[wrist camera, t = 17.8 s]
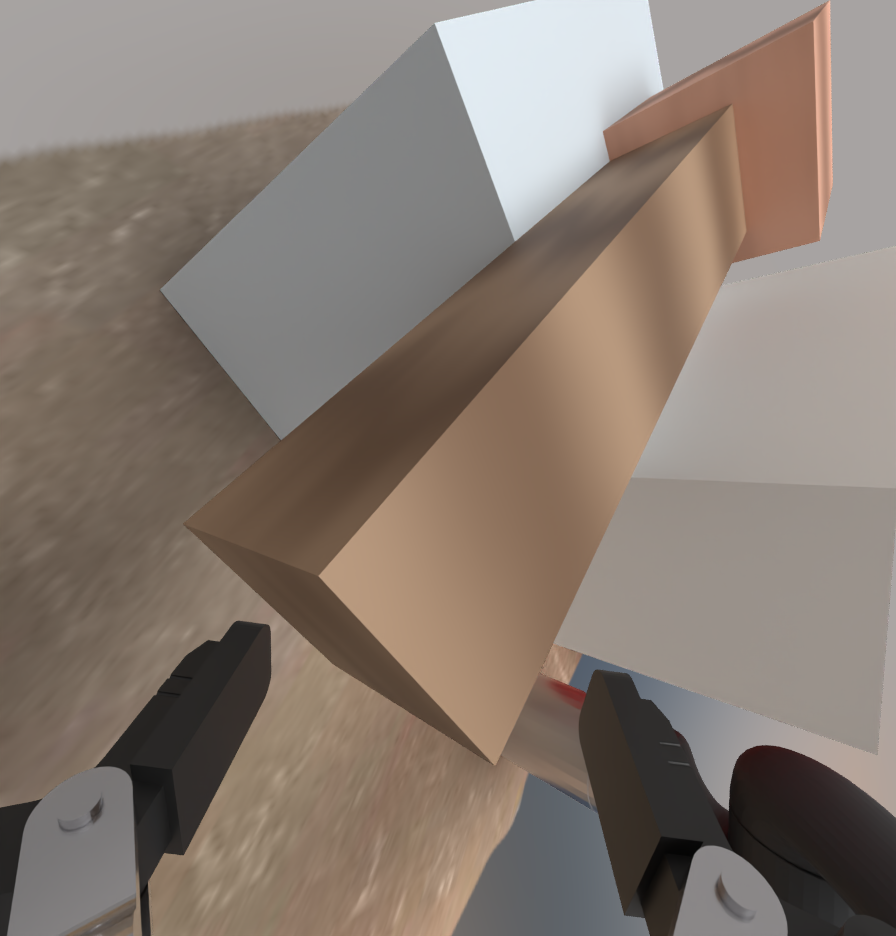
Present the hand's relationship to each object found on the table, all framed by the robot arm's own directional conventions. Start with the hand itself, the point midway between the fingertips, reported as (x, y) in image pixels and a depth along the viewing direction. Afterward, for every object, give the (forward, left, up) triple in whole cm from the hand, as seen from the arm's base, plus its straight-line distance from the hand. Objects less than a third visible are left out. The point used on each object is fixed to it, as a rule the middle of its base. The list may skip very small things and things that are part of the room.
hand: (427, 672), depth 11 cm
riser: (-15, -10, -24) cm, 30 cm away
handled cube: (-5, -11, 0) cm, 12 cm away
